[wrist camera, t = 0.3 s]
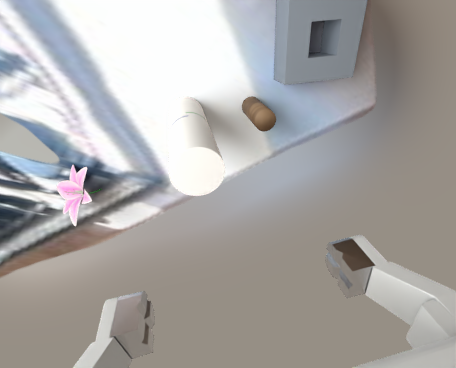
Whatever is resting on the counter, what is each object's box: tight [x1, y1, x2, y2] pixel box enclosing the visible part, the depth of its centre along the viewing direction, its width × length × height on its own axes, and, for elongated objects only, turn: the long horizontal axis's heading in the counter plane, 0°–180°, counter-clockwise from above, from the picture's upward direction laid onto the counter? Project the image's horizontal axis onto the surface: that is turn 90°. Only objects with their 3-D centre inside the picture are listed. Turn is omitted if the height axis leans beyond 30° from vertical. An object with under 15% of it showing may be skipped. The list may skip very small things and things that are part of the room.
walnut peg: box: [242, 97, 276, 131], centre depth 51 cm, size 4×4×10 cm
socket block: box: [274, 0, 367, 85], centre depth 47 cm, size 14×14×6 cm
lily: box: [57, 165, 102, 226], centre depth 54 cm, size 12×12×10 cm
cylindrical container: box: [169, 97, 225, 196], centre depth 43 cm, size 7×7×25 cm
